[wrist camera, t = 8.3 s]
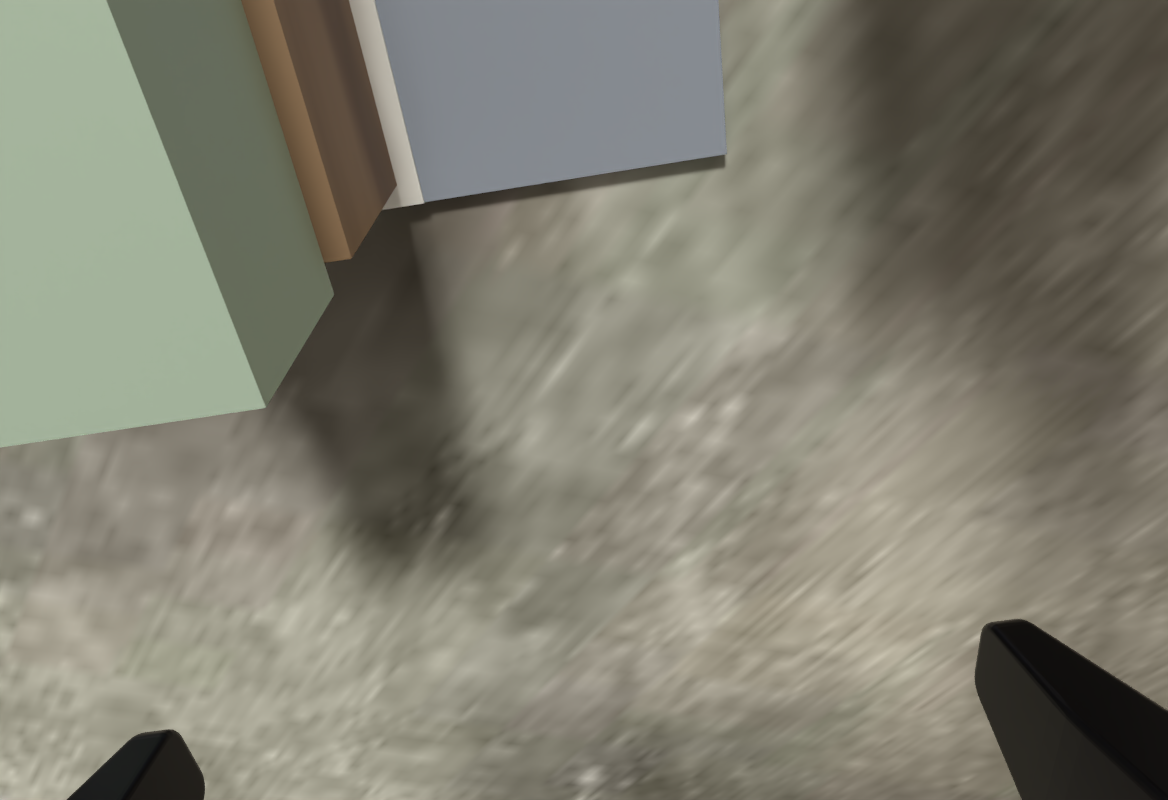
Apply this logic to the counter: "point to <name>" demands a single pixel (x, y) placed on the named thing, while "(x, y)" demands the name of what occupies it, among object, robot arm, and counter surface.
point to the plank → (144, 219)
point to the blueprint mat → (539, 89)
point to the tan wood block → (325, 115)
